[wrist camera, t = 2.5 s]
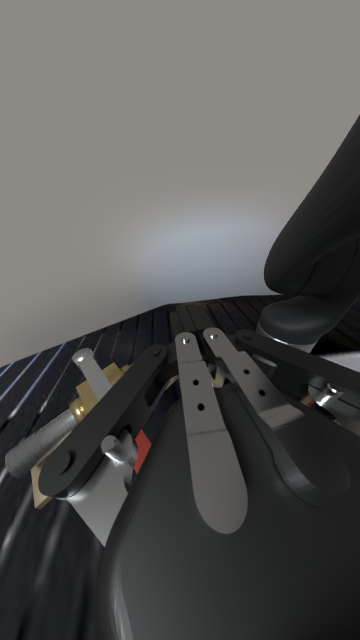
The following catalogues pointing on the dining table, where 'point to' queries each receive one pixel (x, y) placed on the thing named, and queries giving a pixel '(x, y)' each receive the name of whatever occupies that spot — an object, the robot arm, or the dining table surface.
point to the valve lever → (100, 388)
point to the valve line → (57, 428)
